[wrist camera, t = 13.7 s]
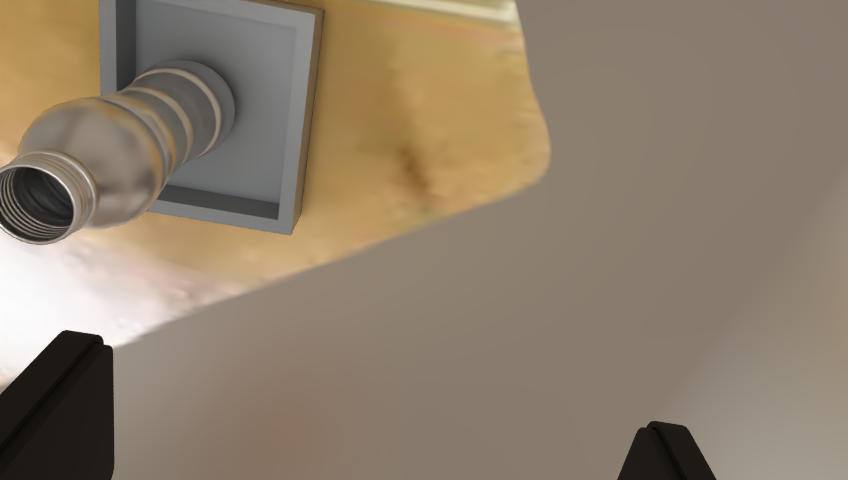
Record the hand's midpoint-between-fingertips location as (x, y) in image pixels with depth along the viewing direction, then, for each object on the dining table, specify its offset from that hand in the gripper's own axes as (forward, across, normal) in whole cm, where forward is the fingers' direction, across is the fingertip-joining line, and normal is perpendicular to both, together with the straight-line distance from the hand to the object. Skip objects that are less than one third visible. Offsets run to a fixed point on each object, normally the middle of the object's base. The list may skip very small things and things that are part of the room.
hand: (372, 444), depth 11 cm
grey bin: (+36, +13, +4) cm, 39 cm away
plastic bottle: (+36, +14, +4) cm, 39 cm away
